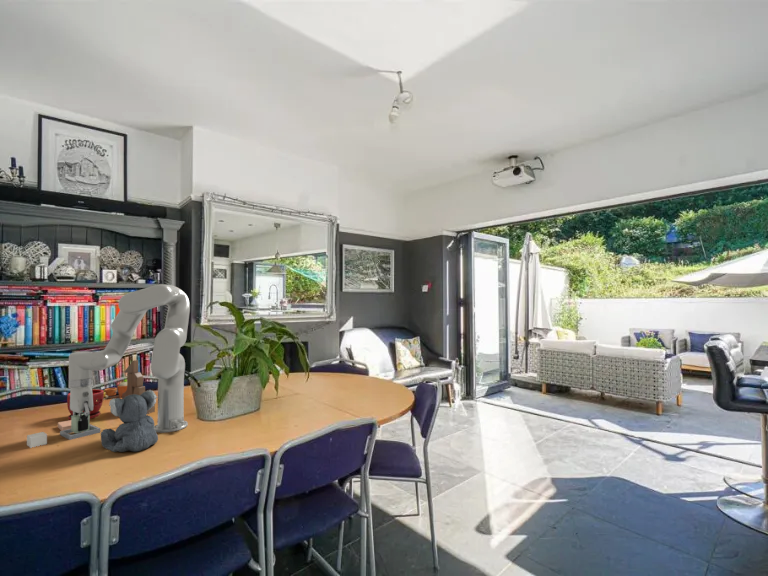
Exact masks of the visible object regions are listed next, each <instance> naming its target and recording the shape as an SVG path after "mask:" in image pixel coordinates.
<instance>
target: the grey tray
mask: <svg viewBox="0 0 768 576" xmlns="http://www.w3.org/2000/svg"><path fill="white" fill-rule="evenodd" d="M71 433H73V432H72V431H71V429H68V430H63V431H61V430H60V431H59V435H60V436H61V437H63V438H65V439H66V440H67V439H68V440H69V441H71V440H75V439H79V438H84V437H88V436H91V435H96V434H99V433H100V434H101V428H100V427H98V426H96V425H93V424H91V423H90V426H89V430H88V431H84V432H80V433H74V434H71Z"/></svg>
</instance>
